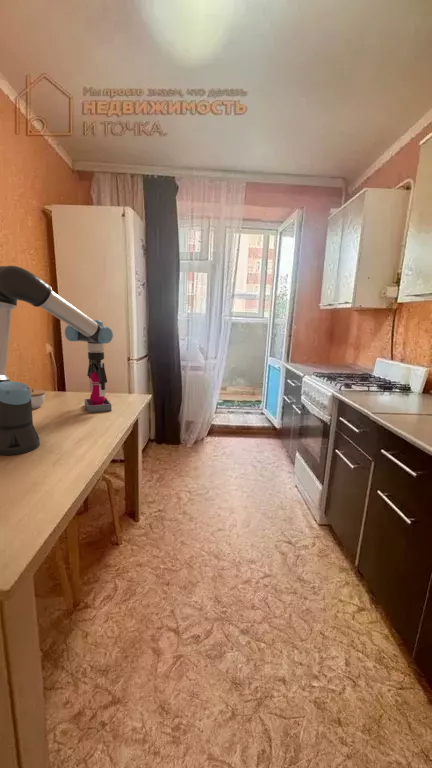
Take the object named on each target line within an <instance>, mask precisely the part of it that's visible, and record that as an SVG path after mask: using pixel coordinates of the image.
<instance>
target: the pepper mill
mask: <svg viewBox="0 0 432 768" xmlns="http://www.w3.org/2000/svg"><path fill="white" fill-rule="evenodd" d="M90 378H91V380H92V385H93V391H91V394H90V395H89V396H90V397H89V399H90V401H91V402H92V404H91V406H93V405H104V403H103V402H104V401H105V398H106V397H105V396H106V395H105V396H101V397H100V394H99V382H100V381H99V378H98V375H97V372H96V371H95V372H93V373H92V374H91V376H90Z"/></svg>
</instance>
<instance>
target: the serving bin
mask: <svg viewBox="0 0 432 768" xmlns="http://www.w3.org/2000/svg"><path fill="white" fill-rule="evenodd" d="M103 403H104V405H93V406H91V404H92V402H91V401H90V398H84V407H85V409H86V411H87V413H88V414H94V413H103V412H104V413H105V412H112V409H113V408H112V403H111V402H110V400H109V399H108V397H105V401H104V402H103Z"/></svg>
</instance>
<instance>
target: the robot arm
mask: <svg viewBox="0 0 432 768" xmlns="http://www.w3.org/2000/svg"><path fill="white" fill-rule="evenodd" d="M18 301H21V302H25V303H28V304H30V305H32V306H33V307H35V308H41V309H42V310H44V311H45V312H47V313H49V314H51V315H52V316H54V317H55V318H56V319H58V320H60V321H62V322H63V323H65V324H66V325H67V326H65V329H64V335H65V339H67V341H69V342H86V343H87V351H88V352H87V358H88V368H87V374H86V375H87V377H88V378H89V380H88V381H89V382H88V383H89V384H88V385H89V391H91V392H92V391H93V385H92V380H91V378H90V376H91V374H92V373H93V372H95V371H96V372H97V375H98V378H99V381H100V382H99V394H100V397H101V396H106V383H107V384H108V379H107V375H106V368H105V363H104V362H102V360H104V359H105V352H104V351H105V348H104V347H105V346H106V345H107V344H109V343H111V341H112V339H113V336H114V333H113V330H112V329H111V328H110V327H108V326H105V325H104V322H103V321H102V320H100V319H92V318H91V317H89V315H86V314H85V313H83V312H82V311H81V310H80V309H78V308H77V307H75V306H74V305H73V304H71V303H70V302H69V301H67V300H66V299H64V298H63V297H61V295H59V294H57V293H56V292H55V291H54V290H53V289H52V286H51V285H50V284H48V283H47V282H46V281H44V280H43V279H41V278H40V277H39V276H37V275H35V274H34V273H32V272H31V271H29V270H27V269H26V268H23V267H20V266H17V265H0V456H14V455H15V456H16V455H20V454H25V453H28V452H29V453H30V452H31V451H33V450H35V449H37V448H39V447H40V444H41V441H40V437H39V435H38V433H37V430H36V429H35V426H34V422H33V408H32V404H31V397H32V396H31V392H30V390H31V388H30V386H29V385H28V384H26V383H23V382H20V381H12V380H10V377H9V376H8V375H7V373H6V372H7V362H8V361H7V360H8V350H9V341H10V329H11V319H12V311H13V310H15V309H16V308H17V306H18V305H17V304H18ZM105 344H106V345H105Z"/></svg>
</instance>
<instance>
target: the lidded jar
mask: <svg viewBox="0 0 432 768" xmlns="http://www.w3.org/2000/svg"><path fill="white" fill-rule="evenodd" d="M30 392H31V396H32V397H31V404H32V409H38V408H41V406H42V405H43V404H44V402H45V399H46V397H45V395H46V392H45V390H42V389H34V388H31V389H30Z"/></svg>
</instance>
